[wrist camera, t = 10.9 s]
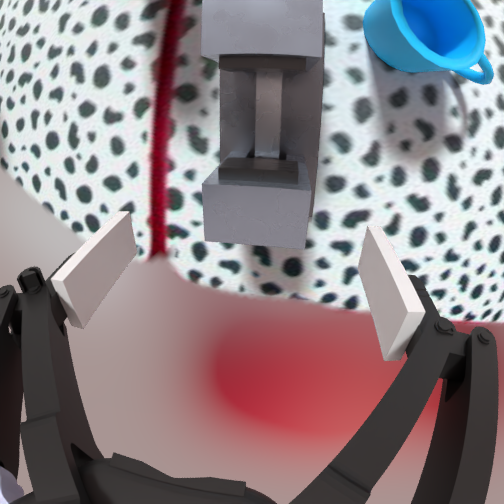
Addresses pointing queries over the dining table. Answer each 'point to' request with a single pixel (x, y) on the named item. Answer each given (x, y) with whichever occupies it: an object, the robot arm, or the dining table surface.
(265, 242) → the stepped metal block
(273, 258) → the dining table surface
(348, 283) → the dining table surface
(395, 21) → the mug
